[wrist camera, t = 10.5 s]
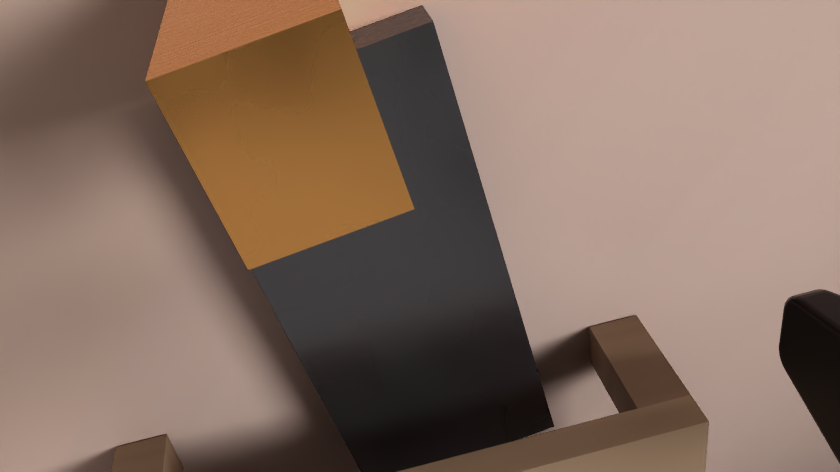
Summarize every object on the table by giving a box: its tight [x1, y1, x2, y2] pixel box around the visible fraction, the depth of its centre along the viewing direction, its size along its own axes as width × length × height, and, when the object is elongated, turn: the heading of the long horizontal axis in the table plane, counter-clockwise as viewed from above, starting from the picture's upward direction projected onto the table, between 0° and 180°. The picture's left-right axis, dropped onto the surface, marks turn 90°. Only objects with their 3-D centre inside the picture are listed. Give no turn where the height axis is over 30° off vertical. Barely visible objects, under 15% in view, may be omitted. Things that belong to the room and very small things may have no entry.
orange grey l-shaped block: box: [145, 0, 554, 472], centre depth 17 cm, size 16×6×8 cm, turn 17°
